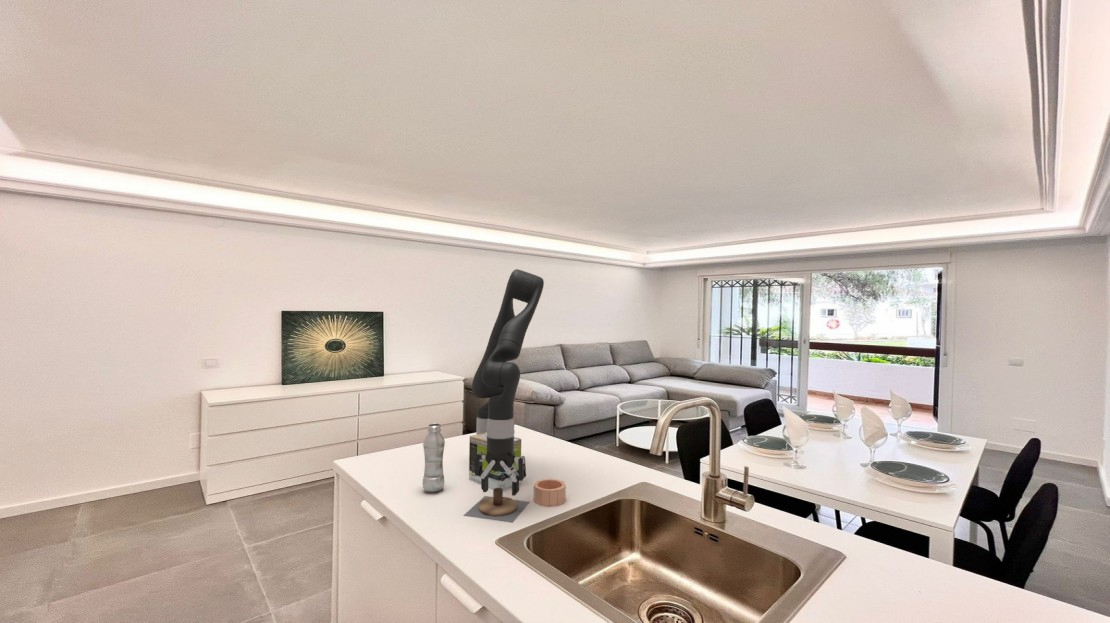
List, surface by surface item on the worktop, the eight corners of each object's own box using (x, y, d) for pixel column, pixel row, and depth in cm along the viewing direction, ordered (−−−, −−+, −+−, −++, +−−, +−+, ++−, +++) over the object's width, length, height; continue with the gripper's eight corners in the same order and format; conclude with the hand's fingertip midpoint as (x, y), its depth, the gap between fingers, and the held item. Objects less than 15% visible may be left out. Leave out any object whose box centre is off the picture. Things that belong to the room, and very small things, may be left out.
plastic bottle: (449, 488, 144) (450, 423, 144) (434, 496, 138) (435, 428, 138) (432, 485, 147) (433, 421, 147) (417, 492, 140) (418, 426, 141)
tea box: (522, 484, 148) (522, 438, 148) (497, 493, 141) (498, 444, 141) (491, 473, 159) (492, 429, 159) (467, 480, 151) (468, 435, 151)
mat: (463, 516, 124) (463, 515, 124) (484, 497, 138) (484, 495, 138) (512, 524, 120) (512, 522, 120) (529, 503, 134) (529, 501, 134)
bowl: (529, 505, 132) (530, 488, 132) (539, 494, 141) (539, 477, 141) (560, 509, 130) (560, 491, 130) (568, 497, 139) (568, 480, 139)
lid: (472, 513, 125) (472, 494, 125) (487, 499, 135) (488, 481, 135) (508, 518, 123) (509, 498, 123) (521, 503, 133) (522, 484, 133)
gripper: (471, 435, 127) (470, 495, 127) (520, 439, 124) (519, 501, 123) (482, 429, 135) (481, 485, 134) (529, 432, 131) (528, 490, 131)
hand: (500, 493), depth 129 cm, fingers open, 8 cm apart
